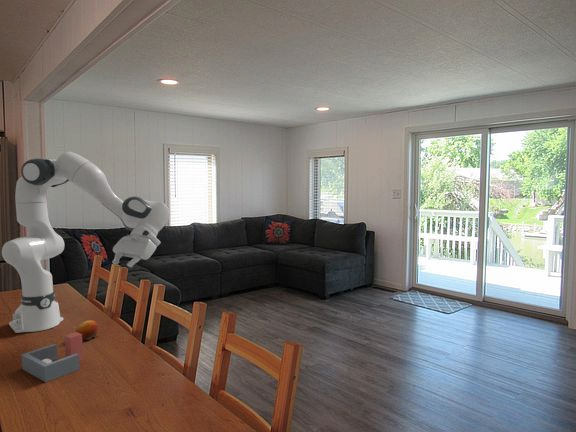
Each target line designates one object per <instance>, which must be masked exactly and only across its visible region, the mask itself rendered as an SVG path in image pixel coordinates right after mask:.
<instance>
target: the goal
mask: <svg viewBox="0 0 576 432" xmlns="http://www.w3.org/2000/svg"><path fill="white" fill-rule="evenodd" d="M20 355H21V367H22V370H23V371H25V372H26V373H28V374H30V375H32V376H34V377H35V378H37V379H39V380H41V381H43V382H44V383H48V382H51V381H53V380H56V379H58V378H61V377H64V376H66V375H68V374H71V373H74V372H76V371H79V370H80V369H81V368H80V367H81V366H80V361H79V354H77V353H76V354H73V355H71V356H68V357H66V356H65V357H63V358H60V359H59V357H58V344H56V343H53V344H49V345H46V346H44V347H40V348H37V349H34V350H31V351H28V352H25V353H22V354H20ZM44 359H50V360H52V362H51V363H48V364H47V363H45V362H43V361H42V360H44ZM54 360H55V361H54Z"/></svg>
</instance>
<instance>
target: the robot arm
mask: <svg viewBox="0 0 576 432" xmlns="http://www.w3.org/2000/svg"><path fill="white" fill-rule="evenodd" d="M20 172H21V177H19V178H18V179H17V180H16V186H15V196H14V197H15V212H16V221H17V223H18V224H19V225H21V226H22V227H25V228H26V229H27V231H28V234H29V235H28V236H23V237H17V238H14V239H12V240H8V241H5V243H4V244H3V246H2V249H1V256H2V258H3V260H4V261H5V262H6V263H7V264H8V265H10V266H12V267H13V268H14V269H15V270H16V271H17V273H18V275H19V277H20V282H21V289H22V290H21V291H22V292H21V293H22V294H21V296H20V297H21V298H20V305H19V307H18V308H16V310H15V311H14V313H13V314H12V316H11V317H12V320H11V321H9V323H8V325H9V326H10V328H11V329H12V330H13V331H14V333H15V334H17V333H18V334H19V333H28V332H29V333H31V332H32V333H33V332H40V331H41V332H42V331H46V330H49V329H51V328H52V329H53V328H55V327H57V326H59V324H60V323H61V322H62V321H64V317H63V316H61V312H60V307H59V302H58V301H56V294H55V291H54V284H53V275H52V273H51V272H50V271H49V270H47V269H44V268H43V266H42V263H41V262H42V261H43V260H48V259H52V258H54V257H57V256H59V255H60V254H62V253H63V251H64V250H65V241H64V239H63V237H62V236H61V235H59V233H57V232H56V231H55V230H54V228H53V226H52V225H51V222H50V219H49V210H48V201H47V200H48V198H47V191H48V189H49V188H50V187H51V188H55V187H58V186H61V185H62V186H63V185H64V184H66V183H68V182H71V183H72V184H73V185H75V186H77V187H78V188H80V189H81V190H82V191H84V192H85V193H87V194H88V195H89V196H91V197H92V198H94V199H95V200H96V201H98V202H99V203H100V204H102V206H104V207H105V208H107V210H109V211H110V212H111V213H112V214H114V215H115V216H116V217H118V218H119V219H120V221H121V222H122V224H123V226H124V228H125V229H126V230H128V231H129V232H130V234H127V235H126V236H123V237H121V238H120V239H119V240H118V241H117V242H116V244H114V246H113V247H112V252H113V253H114V259H113V260H112V261H111V262H112V264H113V265H118V264H119V263H120V259H121V258H123V257H128V258H132V259H131V260H128V262H127V263H126V266H127V267H128V268H133V266H134V265H135V264H137V263H138V262H139V261H140V260H146V261H147V260H148V259H150V258H151V256H152V255H153V254H154V253H155V252H156V250H157V247H158V246H159V245H160V244H161V243H162V242H161V241H160V240H159V239H158V238H157V236H158V234H159V232H160V231H161V230H162V229H163V228H164V226H165V225H166V224H167V222H168V220H169V218H170V216H171V212H170V211H171V210H170V208H169V207H168V205H167V204H166V203H164V202H163V201H161V200H154V201H153V200H147V199H143V198H141V197H139V196H130V197H127V198H125V200H124V201H123V200H122V199H121V197H118V196H117V195H116V194H115V193H114V191H113V189H112V188H111V186H110V184H109V182H108V179H107V176H106V174H105V173H104V172H103V170H101V169H100V167H98V166H97V165H96V164H94V162H91V161H90V160H89V159H87V158H86V157H84V156H82V155H80V154H78V153H75V152H73V151H65V152H63V153H61V154H60V155H59V156H58V158H57V159H55V158H49V157H48V158H39V157H38V158H32V159H28V160H26V161H25V162H24V163H22V166H21V169H20Z"/></svg>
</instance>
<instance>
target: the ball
mask: <svg viewBox="0 0 576 432" xmlns="http://www.w3.org/2000/svg"><path fill="white" fill-rule="evenodd" d="M42 361H43V362H45V363H47V364H48V363H51V362H53V360H50V359H44V360H42Z"/></svg>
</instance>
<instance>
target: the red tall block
mask: <svg viewBox="0 0 576 432" xmlns="http://www.w3.org/2000/svg"><path fill="white" fill-rule="evenodd" d="M63 338H64V340H63V341H64V352H65V357H68V356H71V355H73V354H76V353H77V354H79V362H82V361H84V359H85V358H84V345H83V340H82V334H80V333H77V332H72V333H69V334H65V335H64V337H63Z"/></svg>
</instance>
